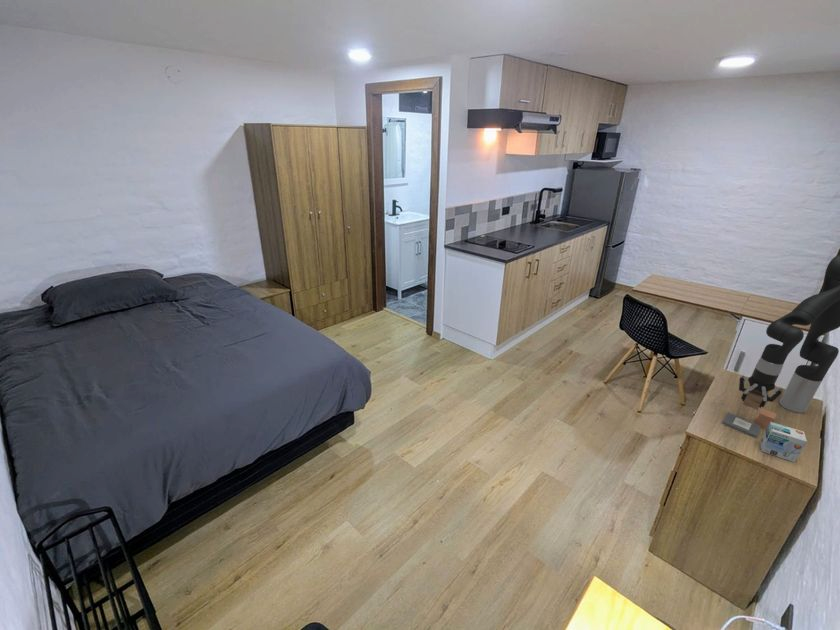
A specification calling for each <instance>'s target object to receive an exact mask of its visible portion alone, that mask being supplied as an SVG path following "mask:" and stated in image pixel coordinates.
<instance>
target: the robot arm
mask: <svg viewBox="0 0 840 630" xmlns="http://www.w3.org/2000/svg"><path fill="white" fill-rule="evenodd" d="M822 283H823V284H822V287H821V292H819V293H816V294H814V295H811V296H808V297H807V298H805V299H803V300H801V302H800V303H799V304H798V305H797V306H796V307H795V308H793V310H791V311H790V312H789V313H786V314H785V315H783V316H782V317H780V318H777V319H776V320H774V321H772V322H771V323H770V324H769V325H768V326H767V327H766V331H765V332H766V335H767V337H769V338H770V339H773V340H775V341H778V342H780V343H782V344H781V345H780V344H776V343H769V344H766V346H765V347H764V350H763V351H762V353H761V355H760V358H759V359H758V361H757V363H756V365H755V368H754V369H753V372H752V374H751V376H749V377H746V376H744V375H741V376H740V378H739V383H738V390H739V391H740V392H742V396H741V398H740V399H741V400H742V402H744V400H745V398H746V396H747V394H748V392H749V391H751V390H757V391H759V392H761V393H762V395H763V397H764V398H763V400H762V402H761V404H760V406H759V408H760V409H762V408H764V407H765V405H766V403H767V402H770V403H774V401H775V400H776V399H777V398H778V397H779V396H780V395H782V396H781V397H780V400H779V405H780V406H782V407H783V408H785V409H786V410H787V411H790V412H794V413H798V414H803V413H804V414H805V412H806V411H807V409H808V408H809V406H810V404H811V402H812V400H813V398H814V397H815V395H816V393H817V392H818V389H819V388H820V386H821V383H822V382H823V380H824V379H825V377H826V375H827V374H828V371H829V369H831V367H832V365H833V363H834V362H835V360H836V359H837V357H838V355H839V353H840V351H839V348H838V347H836V346H834V345H831V344H828V343H827V342H826V343H825V342H822V341H819V338H820V337H822V336H824V335H825V334H828V333H830V332H832V331H835V330H836V329H838V328H840V254H839V255H836V256H834V257H833V258H831V260H830V261H829V262H828V264H827V267H826V268H825V273H824V278H823V282H822ZM793 325H797V326H803V327H805V326H806V327H807V326H810V327H809V328H808V332H807V334H806V335H805V334H804V331H803V329H802V328H799V327H796V326H793ZM804 335H805V338H804ZM802 341H803V342H802ZM801 342H802V345H801V347H800V350H799V357H800V358H802V359H803V360H805V361H808V362H811V363H814V364H816V365H810V364H800V365H798V366H796V368H795V370H794V373H793V374H792V376H791V378H790V380H789V382H788V384H787V385H786V388H785V389H784V392H783V389H782V388H778V387H776V385H775V384H776V382H777V380H778V378H779V376H780V374H781V372H782V369H783V367H784V363H785V362H786V359H787V357H788V355H789V354H790V353H791V352H792V351H793V350H794V349H795V347H796V346H798V344H800V343H801ZM747 382H748V384H749V386H747V387H746V388H745V383H747ZM770 391H773V395H771V396H769V392H770ZM782 393H783V394H782Z"/></svg>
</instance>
